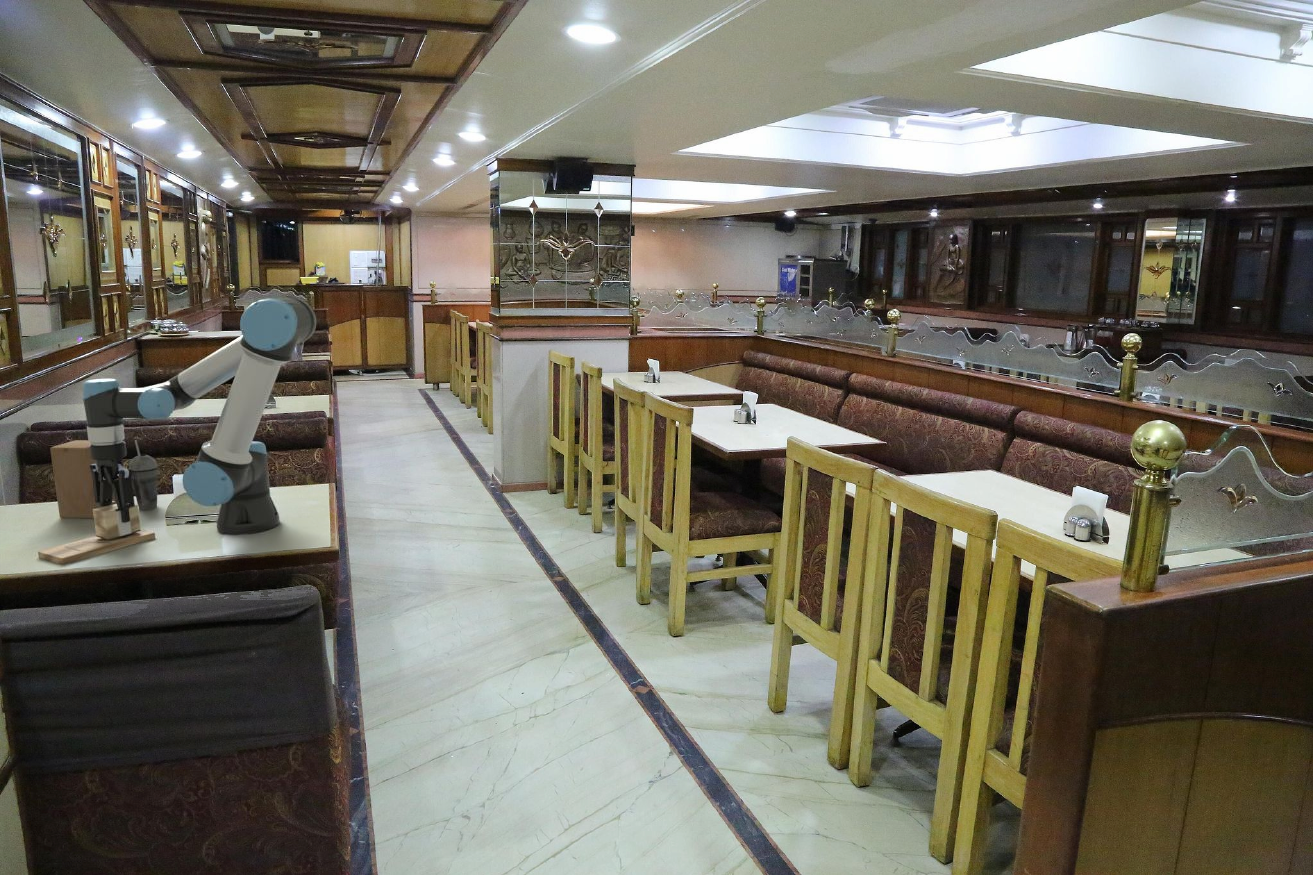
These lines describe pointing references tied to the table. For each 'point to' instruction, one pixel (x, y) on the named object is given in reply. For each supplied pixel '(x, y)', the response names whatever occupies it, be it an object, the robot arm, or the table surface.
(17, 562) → the table surface
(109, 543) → the board
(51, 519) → the table surface
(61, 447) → the wooden block
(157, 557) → the table surface
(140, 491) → the beverage cup
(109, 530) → the block
